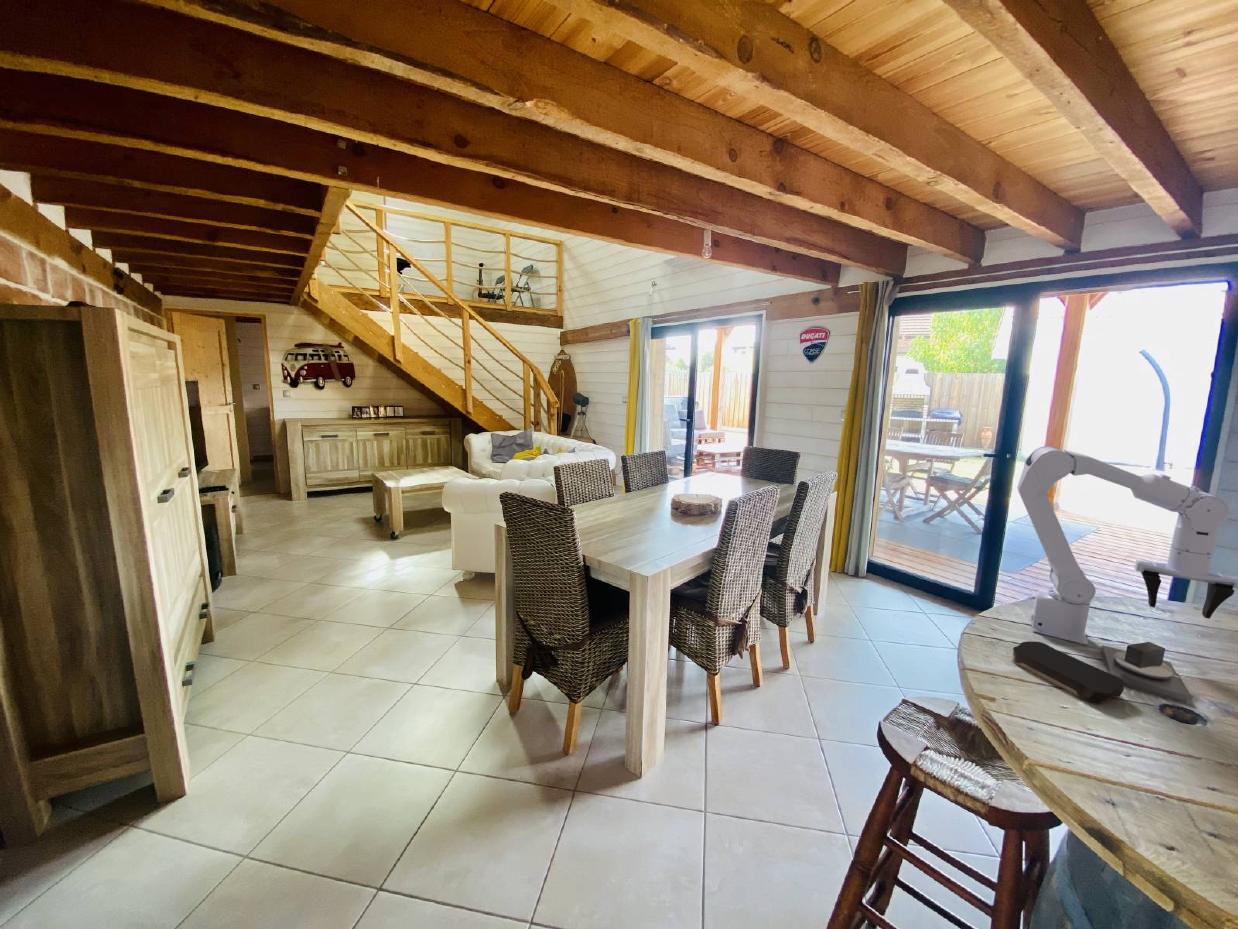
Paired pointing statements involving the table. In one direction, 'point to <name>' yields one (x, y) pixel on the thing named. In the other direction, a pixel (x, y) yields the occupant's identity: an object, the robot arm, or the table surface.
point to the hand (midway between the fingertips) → (1178, 610)
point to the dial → (1144, 660)
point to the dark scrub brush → (1068, 672)
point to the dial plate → (1145, 678)
